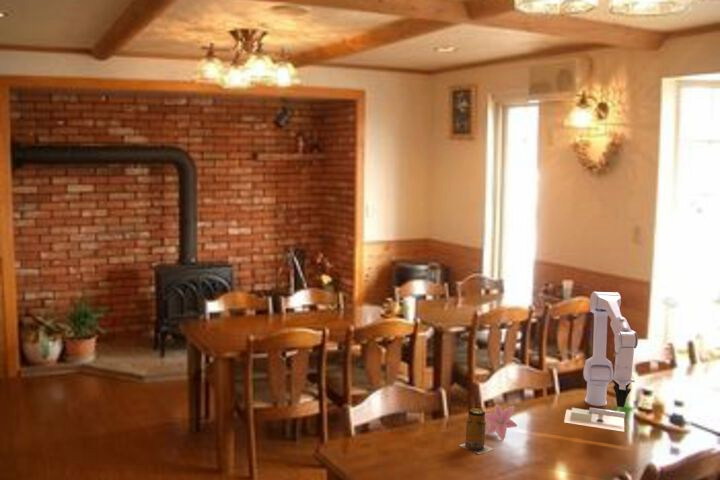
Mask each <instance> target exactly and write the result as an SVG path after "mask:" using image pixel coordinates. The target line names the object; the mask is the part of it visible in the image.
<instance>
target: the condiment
mask: <svg viewBox="0 0 720 480" xmlns="http://www.w3.org/2000/svg"><path fill="white" fill-rule="evenodd" d="M485 414H486V412H485V410H483V409H481V408H470V409H468V413H467V418H466V423H465V425H466V426H465V439H464V443H462V444H459V445H458V446H460V447H461V448H463V449H465V450H469V451H471V452H473V453H474V454H475V453H476V454H478V455H481V454H484V453H488V452H489V451H493V450H494V448H492V447H490V446H488V445H486V444H485V441H486V440H485V439H486V437H485V436H486V425H487V424H486V423H487V422H486V420H485Z"/></svg>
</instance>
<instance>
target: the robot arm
mask: <svg viewBox="0 0 720 480" xmlns="http://www.w3.org/2000/svg"><path fill="white" fill-rule="evenodd" d="M621 303H622V299H621V294H620V293H619V292H617V291H615V292H608V291H607V292H606V291H605V292H604V291H593V292H591V295H590V297H589V312H590V313H592V314H593V339H592V356H591V357H589V358H588V359H586V360H585V362H584V367H583V373H582V374H583V379H584V380H585V382H586V396H585V398H584V401H585V403H586V404H588V405H591V406H595V407H603V406H606V405H607V402H608V401H607V394H608V393H607V392H608V385H610V383H612V381H613V391H614V393H615V400H616V407H618V408H624V407H625V404H626V401H627V398H628V396H629V394H630V393H631V391H632V388H629V386H630V385H631V383H635V381H636V379H635V378H632V376H633V364H634V363H633V362H634V355H635V349H637V347H638V343H639V337H638V334H637V332H636V331H634V330H632V329H631V327H630V325H629V323H628V321H627V319H626V317H623V316H622V313H621V310H620V307H621ZM608 317H609V318H610V320H611V321H610V323H609V325H610V328H611V329H612V333H613V334H614V339H613V342H614V352H615V358H614V359H615V361H614V368H613V363H612V361H610V360H609V359H608V358H607V342H608V340H607V339H608V338H607V337H608Z"/></svg>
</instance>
